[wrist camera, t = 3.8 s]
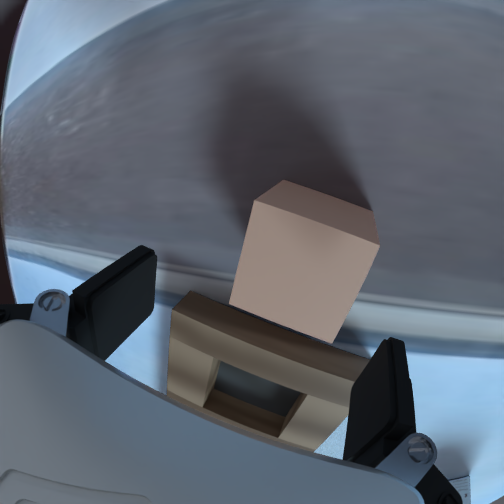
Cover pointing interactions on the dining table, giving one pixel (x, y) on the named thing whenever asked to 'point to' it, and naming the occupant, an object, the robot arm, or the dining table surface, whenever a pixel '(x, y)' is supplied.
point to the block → (304, 259)
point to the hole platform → (258, 374)
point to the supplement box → (463, 488)
